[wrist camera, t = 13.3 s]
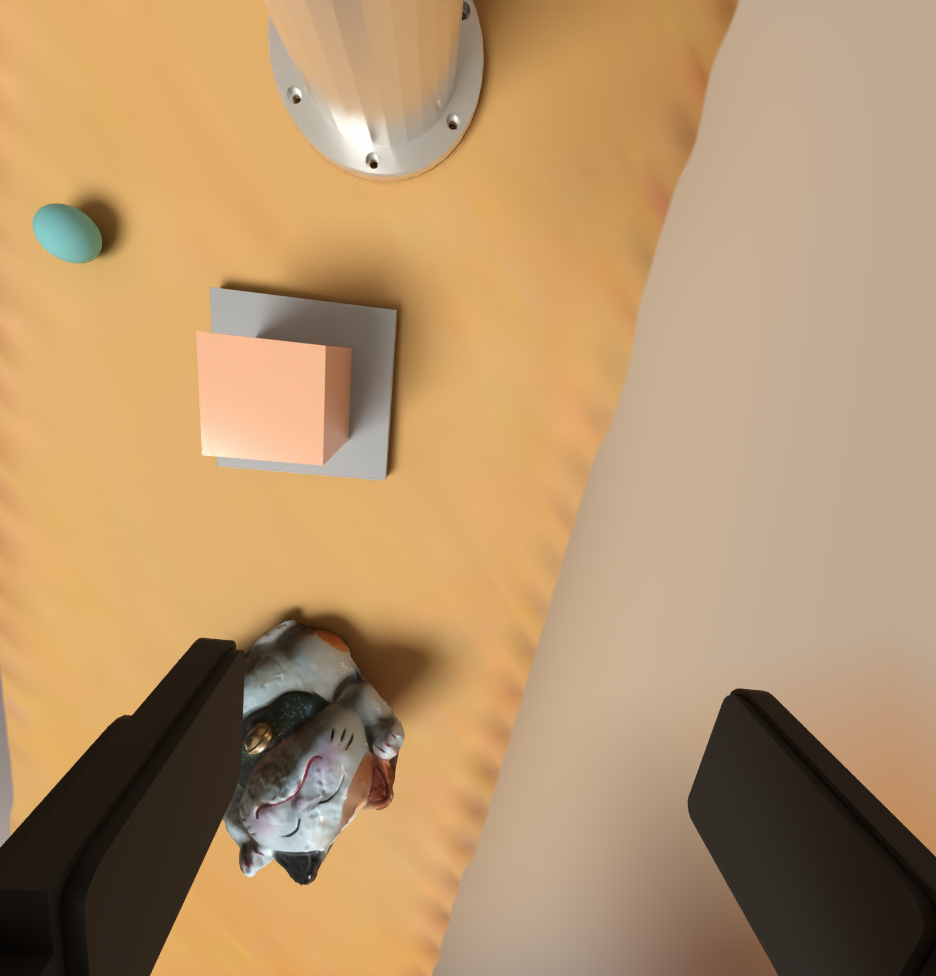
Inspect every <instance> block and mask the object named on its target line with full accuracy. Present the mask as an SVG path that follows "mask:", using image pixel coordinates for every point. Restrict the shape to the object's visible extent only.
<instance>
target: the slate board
mask: <svg viewBox="0 0 936 976" xmlns="http://www.w3.org/2000/svg"><path fill="white" fill-rule="evenodd" d="M210 299H211V324H212V333H218V334H228V335H237V336H247V337H257V338H266V339H275V340H284V341H293V342H301V343H310V344H319V345H328V346H337V347H346V348H352V365H351V392H350V419H349V440H348V441H347V442H346V443H345V444H344V445H343V446H342V447H341V448H340V449H339V450H338V451H337V452H336V453H335V454H334V455H333V456H332V457H331V458H330V459H329V460H328V461H327V462H326V463H325V464H324V465H323V466H322V465H311V464H299V463H287V462H276V461H264V460H253V459H241V458H230V457H218V456H217V466H220V467H232V468H244V469H255V470H267V471H279V472H290V473H302V474H314V475H325V476H337V477H349V478H360V479H372V480H384V481H385V480H386V478H387V467H388V451H389V436H390V420H391V404H392V388H393V373H394V357H395V341H396V325H397V311H396V310H392V309H384V308H376V307H368V306H360V305H352V304H343V303H335V302H327V301H319V300H311V299H303V298H295V297H286V296H278V295H270V294H262V293H254V292H246V291H238V290H229V289H221V288H213V287H210Z"/></svg>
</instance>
